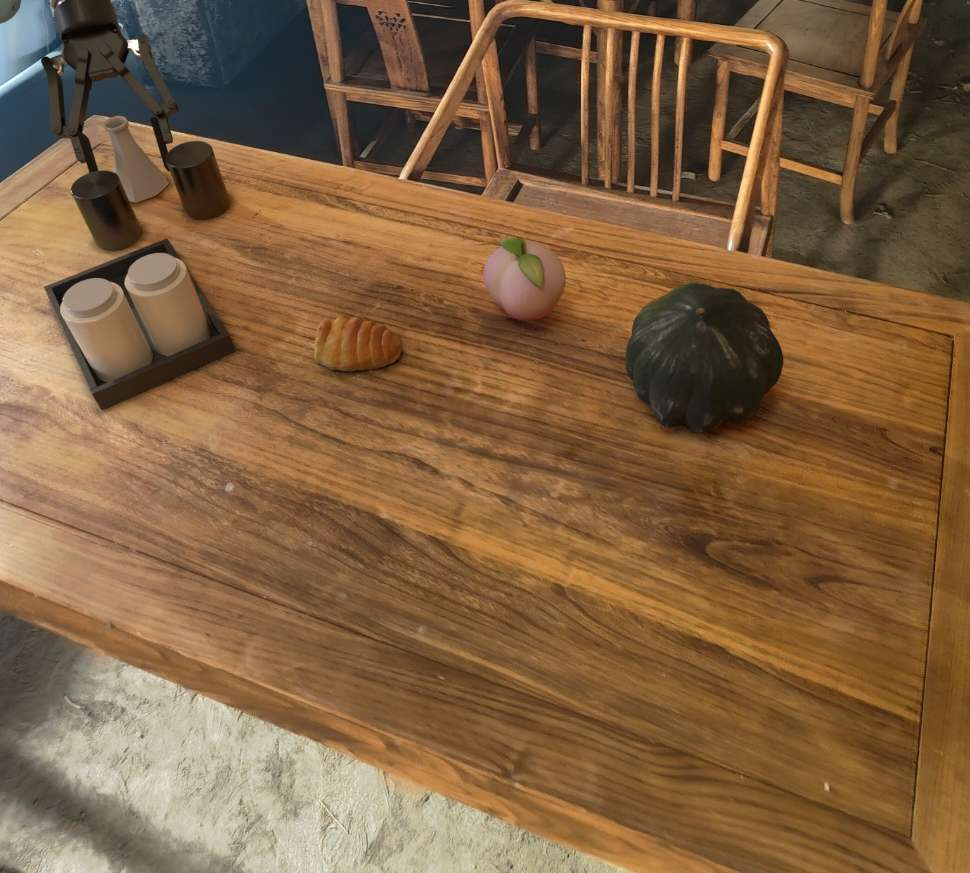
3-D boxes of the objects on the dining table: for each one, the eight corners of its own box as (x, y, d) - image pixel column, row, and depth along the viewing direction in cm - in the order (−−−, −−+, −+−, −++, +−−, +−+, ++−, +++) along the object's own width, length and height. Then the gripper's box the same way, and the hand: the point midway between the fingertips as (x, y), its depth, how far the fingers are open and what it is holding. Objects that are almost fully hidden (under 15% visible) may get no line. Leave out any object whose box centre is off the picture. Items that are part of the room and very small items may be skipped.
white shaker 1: (87, 357, 105) (49, 289, 98) (142, 333, 107) (109, 265, 99) (103, 392, 101) (64, 324, 94) (160, 367, 103) (127, 298, 96)
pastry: (408, 334, 104) (403, 309, 101) (396, 378, 100) (390, 353, 97) (328, 330, 106) (321, 305, 103) (312, 373, 101) (304, 348, 99)
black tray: (52, 303, 113) (43, 286, 111) (174, 254, 117) (167, 237, 115) (101, 410, 100) (92, 394, 98) (235, 351, 105) (229, 334, 103)
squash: (741, 283, 97) (671, 228, 86) (834, 375, 89) (769, 328, 78) (648, 379, 102) (570, 339, 91) (727, 476, 94) (651, 444, 83)
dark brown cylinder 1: (90, 233, 122) (64, 181, 116) (134, 216, 123) (111, 164, 117) (103, 257, 118) (77, 204, 112) (148, 239, 120) (125, 186, 114)
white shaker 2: (146, 332, 107) (113, 264, 100) (200, 309, 109) (171, 241, 101) (164, 365, 103) (131, 297, 96) (219, 341, 105) (191, 272, 98)
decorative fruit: (582, 319, 104) (583, 247, 96) (523, 352, 101) (519, 280, 94) (532, 277, 109) (529, 206, 102) (475, 307, 106) (467, 236, 99)
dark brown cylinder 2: (179, 204, 125) (159, 151, 118) (221, 188, 126) (203, 135, 120) (194, 225, 121) (174, 173, 115) (237, 209, 123) (219, 156, 117)
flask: (134, 209, 124) (106, 143, 117) (105, 191, 128) (76, 125, 120) (178, 184, 128) (153, 118, 120) (149, 166, 131) (123, 101, 124)
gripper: (-13, 12, 116) (42, 190, 118) (159, -23, 119) (210, 151, 121) (8, 35, 123) (60, 202, 125) (169, 1, 126) (217, 165, 128)
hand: (133, 176), depth 123 cm, fingers open, 9 cm apart
